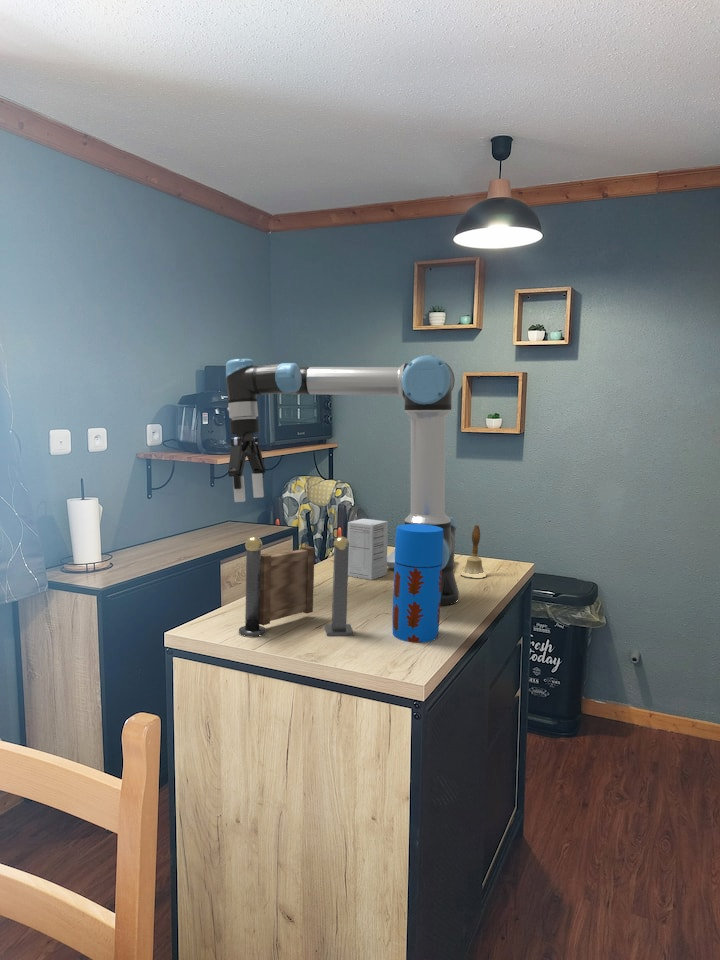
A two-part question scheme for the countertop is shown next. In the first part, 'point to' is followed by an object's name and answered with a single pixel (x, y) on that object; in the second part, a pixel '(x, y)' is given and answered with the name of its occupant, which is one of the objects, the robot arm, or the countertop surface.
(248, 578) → the hinge post
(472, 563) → the hand bell
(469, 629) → the countertop surface
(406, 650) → the countertop surface
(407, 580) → the thermos
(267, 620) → the walnut gate
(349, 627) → the post
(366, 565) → the supplement box
